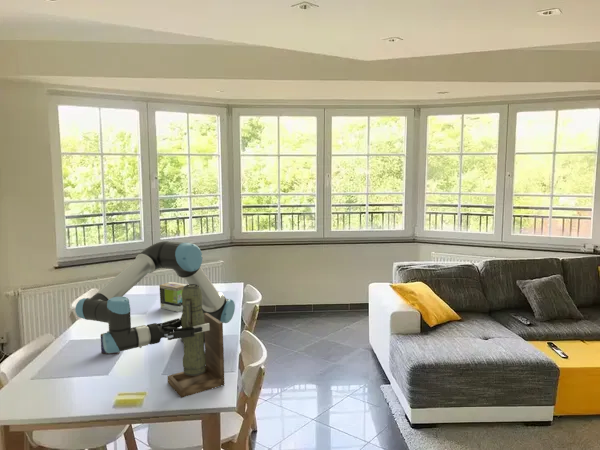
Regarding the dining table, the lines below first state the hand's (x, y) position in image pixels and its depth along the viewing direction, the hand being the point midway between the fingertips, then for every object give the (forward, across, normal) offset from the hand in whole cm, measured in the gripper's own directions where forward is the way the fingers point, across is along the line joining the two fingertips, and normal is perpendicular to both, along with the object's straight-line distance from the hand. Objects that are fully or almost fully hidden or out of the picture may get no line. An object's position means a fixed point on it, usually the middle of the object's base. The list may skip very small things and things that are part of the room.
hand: (204, 323), depth 193 cm
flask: (-25, -52, -25) cm, 63 cm away
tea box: (+23, -99, -24) cm, 105 cm away
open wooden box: (-4, 0, -25) cm, 25 cm away
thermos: (-5, 0, -19) cm, 20 cm away
